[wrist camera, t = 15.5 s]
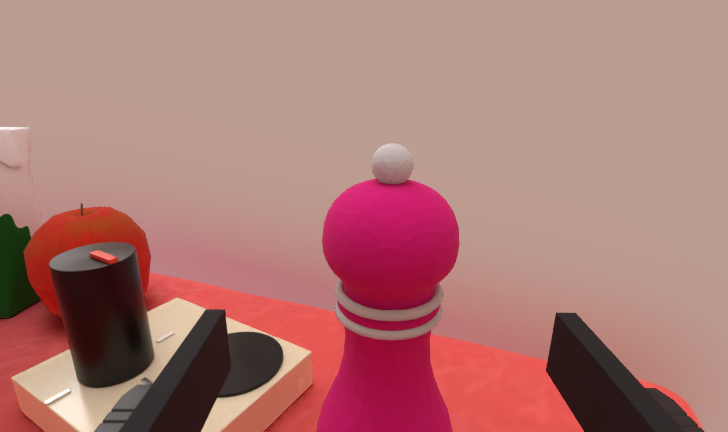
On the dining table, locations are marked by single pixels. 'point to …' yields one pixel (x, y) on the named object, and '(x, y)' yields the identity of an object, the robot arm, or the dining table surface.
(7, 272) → the milk carton
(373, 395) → the pepper mill
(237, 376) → the burner
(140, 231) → the apple
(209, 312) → the robot arm
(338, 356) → the dining table surface
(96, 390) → the hob
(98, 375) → the hob knob
